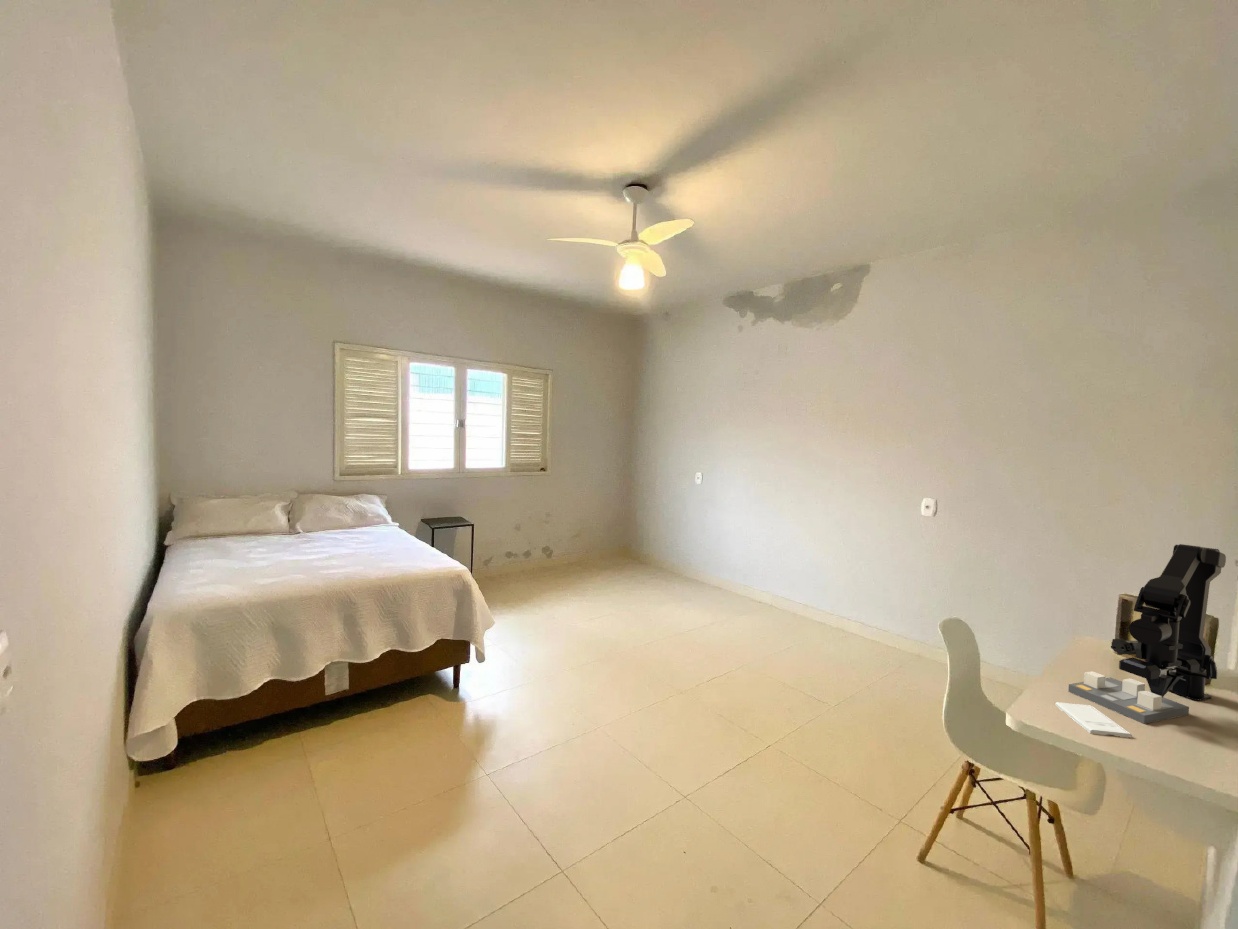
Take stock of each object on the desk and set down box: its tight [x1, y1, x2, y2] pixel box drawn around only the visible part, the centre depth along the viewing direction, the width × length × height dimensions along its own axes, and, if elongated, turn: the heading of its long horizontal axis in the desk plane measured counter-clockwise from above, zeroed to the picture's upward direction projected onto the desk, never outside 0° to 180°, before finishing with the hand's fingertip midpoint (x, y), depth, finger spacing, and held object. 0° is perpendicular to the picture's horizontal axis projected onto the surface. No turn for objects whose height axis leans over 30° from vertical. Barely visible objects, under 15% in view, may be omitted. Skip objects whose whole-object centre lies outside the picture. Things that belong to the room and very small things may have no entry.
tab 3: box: [1137, 689, 1162, 710], centre depth 124 cm, size 3×3×3 cm
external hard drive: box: [1055, 701, 1133, 739], centre depth 121 cm, size 2×8×12 cm
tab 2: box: [1122, 678, 1146, 697], centre depth 131 cm, size 3×3×3 cm
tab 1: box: [1083, 670, 1107, 689], centre depth 135 cm, size 3×3×3 cm
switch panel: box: [1068, 676, 1190, 724], centre depth 130 cm, size 16×16×2 cm
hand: (1156, 699), depth 125 cm, fingers closed
